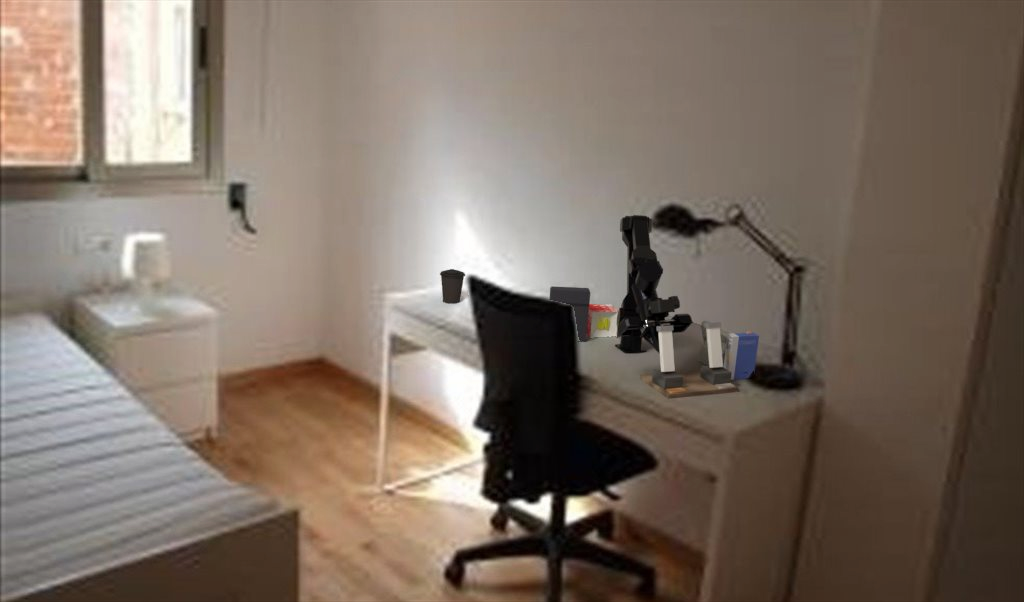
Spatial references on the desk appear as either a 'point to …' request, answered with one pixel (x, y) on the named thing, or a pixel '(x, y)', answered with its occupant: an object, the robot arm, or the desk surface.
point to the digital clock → (704, 347)
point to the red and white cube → (602, 320)
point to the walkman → (741, 354)
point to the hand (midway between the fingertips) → (664, 355)
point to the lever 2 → (714, 344)
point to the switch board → (691, 382)
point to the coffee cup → (452, 285)
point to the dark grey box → (575, 305)
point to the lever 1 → (666, 348)
